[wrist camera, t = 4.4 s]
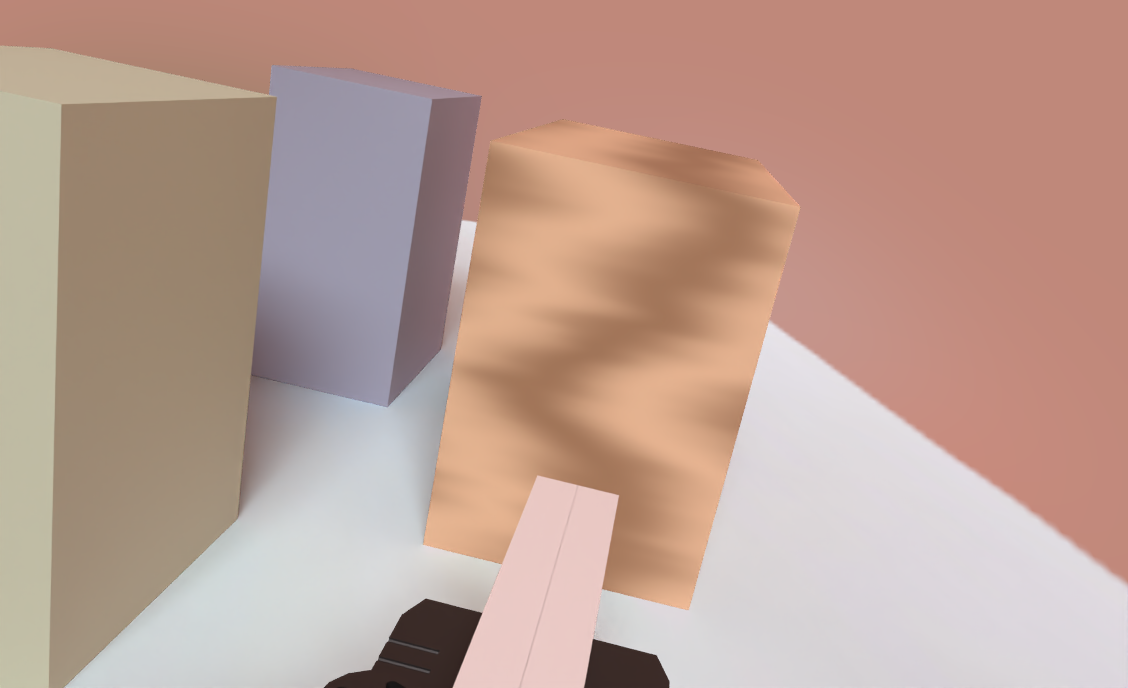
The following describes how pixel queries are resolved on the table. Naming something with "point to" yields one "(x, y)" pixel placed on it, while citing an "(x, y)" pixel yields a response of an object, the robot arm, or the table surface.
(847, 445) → the table surface
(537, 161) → the oak block
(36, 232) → the beige block
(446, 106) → the lavender block
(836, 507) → the table surface
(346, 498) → the table surface
